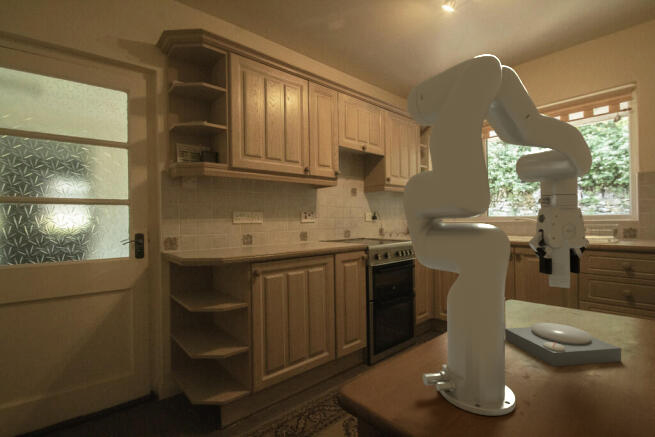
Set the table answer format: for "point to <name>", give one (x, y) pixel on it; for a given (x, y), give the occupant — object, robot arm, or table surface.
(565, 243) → the skincare box
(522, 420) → the table surface
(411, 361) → the table surface
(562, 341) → the kitchen scale
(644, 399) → the table surface
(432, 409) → the table surface
